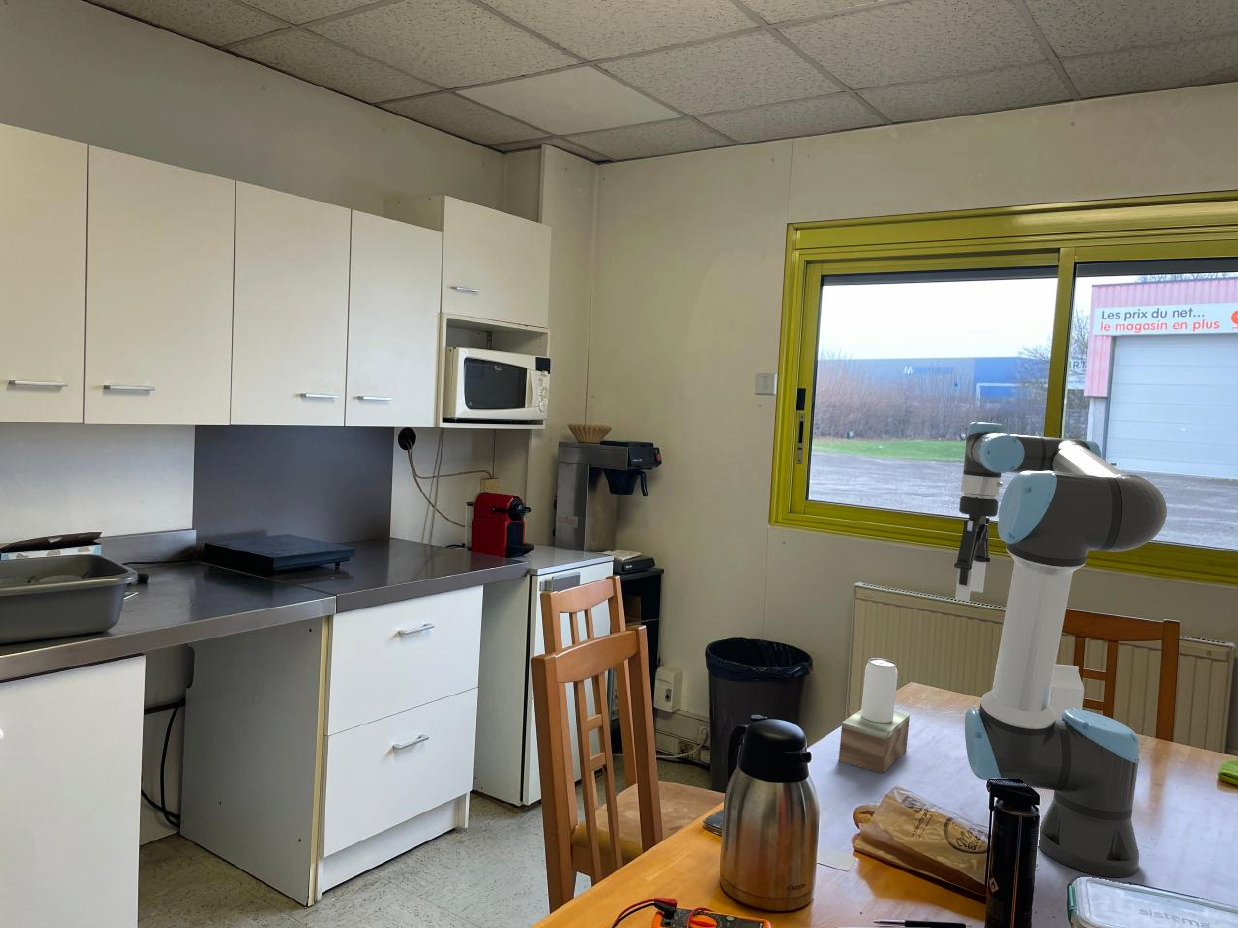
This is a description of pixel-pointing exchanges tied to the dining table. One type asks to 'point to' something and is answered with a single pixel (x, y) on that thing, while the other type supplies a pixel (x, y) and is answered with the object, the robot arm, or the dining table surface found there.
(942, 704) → the dining table surface
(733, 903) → the dining table surface
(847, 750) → the stand
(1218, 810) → the dining table surface
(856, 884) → the dining table surface
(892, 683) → the can
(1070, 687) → the milk carton
